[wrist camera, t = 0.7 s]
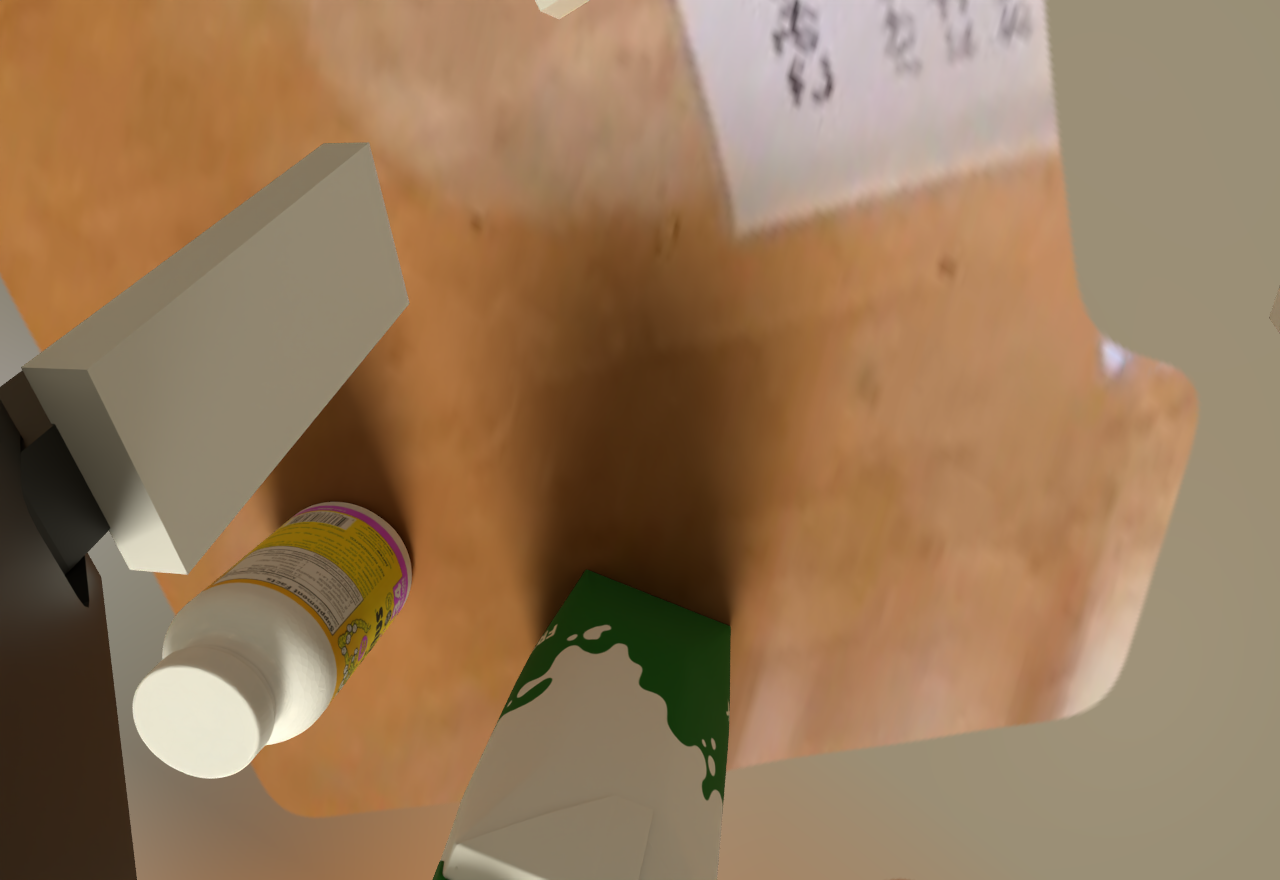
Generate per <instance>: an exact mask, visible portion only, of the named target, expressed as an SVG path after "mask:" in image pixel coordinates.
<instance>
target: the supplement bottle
mask: <svg viewBox="0 0 1280 880" xmlns="http://www.w3.org/2000/svg"><path fill="white" fill-rule="evenodd" d="M411 582H412V569H411V562H410V558H409V555H408V552H407V549H406V547H405V545H404V543H403V541H402V540H401V538H400V536H399V535H398V534H397V532H396V531H395V530H394V529H393V528H392V527H391V526H390V525H389V524H388V523H387V522H386V521H384V520H383V519H382V518H381V517H379V516H378V515H376V514H375V513H373V512H371V511H369V510H367V509H365V508H363V507H361V506H358V505H354V504H351V503H345V502H325V503H319V504H315V505H312V506H310V507H307V508H305V509H303V510H301V511H300V512H298V513H297V514H296V515H294V516H293V517H292V518H290V519H289V520H288V521H287V522H285V523H284V524H283V525H282V526H281V527H280V528H278V529H277V530H276V531H275V532H273V533H272V534H271V535H270V536H269V537H268V538H266V539H265V540H264V541H263V542H262V543H260V544H259V545H258V546H257V547H256V548H254V549H253V550H252V551H251V552H249V553H248V554H247V555H246V556H245V557H243V558H242V559H241V560H240V561H238V562H237V563H236V564H235V565H234V566H232V567H231V568H230V569H229V570H228V571H226V572H225V573H224V574H223V575H222V576H220V577H219V578H218V579H217V580H216V581H214V582H213V583H212V584H211V585H210V586H208V587H207V588H206V589H205V590H203V591H202V592H201V593H200V594H198V595H197V596H196V597H195V598H193V599H192V600H191V601H190V602H189V603H187V604H186V605H185V606H184V607H183V608H182V609H181V610H180V611H179V612H178V614H177V615H176V616H175V618H174V619H173V621H172V622H171V624H170V626H169V628H168V631H167V633H166V636H165V640H164V644H163V651H162V661H161V662H160V663H159V664H158V665H157V666H156V667H154V668H153V669H152V670H151V671H150V672H149V673H148V674H147V675H146V676H145V677H144V679H143V680H142V681H141V682H140V684H139V685H138V687H137V689H136V692H135V694H134V699H133V716H134V721H135V724H136V727H137V731H138V733H139V734H140V736H141V738H142V740H143V741H144V742H145V744H146V745H147V747H148V748H149V749H150V750H151V751H152V752H153V753H154V754H155V755H156V756H157V757H158V758H160V759H161V760H162V761H163V762H165V763H166V764H168V765H169V766H171V767H173V768H175V769H177V770H179V771H181V772H183V773H185V774H188V775H192V776H196V777H201V778H221V777H226V776H230V775H232V774H235V773H237V772H239V771H240V770H242V769H243V768H245V767H246V766H247V765H248V764H249V763H250V762H251V761H252V760H253V759H254V757H255V756H256V755H257V754H258V753H259V751H260V750H261V749H262V748H263V747H264V746H265V745H270V744H275V743H279V742H283V741H286V740H288V739H291V738H293V737H295V736H297V735H299V734H300V733H302V732H304V731H305V730H306V729H308V728H309V727H310V726H311V725H312V724H313V723H314V722H315V721H316V720H317V719H318V718H319V717H320V716H321V714H322V713H323V712H324V711H325V709H326V708H327V707H328V705H329V704H330V703H331V701H332V700H333V699H334V697H335V696H336V695H337V693H338V692H339V691H340V689H341V688H342V687H343V685H344V684H345V683H346V682H347V680H348V679H349V678H350V676H351V675H352V674H353V672H354V671H355V670H356V668H357V667H358V666H359V665H360V663H361V662H362V661H363V659H364V658H365V657H366V656H367V654H368V653H369V652H370V650H371V649H372V648H373V646H374V645H375V644H376V643H377V641H378V640H379V638H380V637H381V636H382V635H383V633H384V632H385V631H386V629H387V628H388V627H389V625H390V624H391V623H392V621H393V620H394V619H395V617H396V616H397V615H398V613H399V611H400V610H401V609H402V607H403V605H404V604H405V602H406V600H407V597H408V595H409V592H410V588H411Z"/></svg>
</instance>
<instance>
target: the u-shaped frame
mask: <svg viewBox="0 0 1280 880" xmlns="http://www.w3.org/2000/svg"><path fill="white" fill-rule="evenodd" d="M535 1H536V3H537V5H538V7H539V9H540V11H541V12H543V13H546V14H548V15H550V16H553V17H555V18H557V19H561V18H562V17H564V16H566V15H567V14H569V13H571V12H572V11H574V10H575V9H577V8H579V7H580V6H582V5H583V4H585V3H587V2H588V1H590V0H535Z"/></svg>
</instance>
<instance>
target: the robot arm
mask: <svg viewBox="0 0 1280 880" xmlns="http://www.w3.org/2000/svg"><path fill="white" fill-rule="evenodd" d="M408 305H409V300H408V296H407V292H406V288H405V284H404V280H403V276H402V272H401V268H400V264H399V260H398V256H397V252H396V248H395V244H394V240H393V236H392V232H391V228H390V224H389V220H388V216H387V212H386V208H385V204H384V200H383V196H382V192H381V188H380V184H379V180H378V176H377V172H376V168H375V164H374V160H373V156H372V152H371V148H370V144H369V143H324V144H322V145H321V146H320V147H318V148H317V149H316V150H314V151H313V152H311V153H310V154H309V155H307V156H306V157H305V158H303V159H302V160H301V161H299V162H298V163H297V164H295V165H294V166H293V167H291V168H290V169H288V170H287V171H286V172H284V173H283V174H282V175H280V176H279V177H278V178H276V179H275V180H274V181H272V182H271V183H270V184H268V185H267V186H266V187H264V188H263V189H261V190H260V191H259V192H257V193H256V194H255V195H253V196H252V197H251V198H249V199H248V200H247V201H245V202H244V203H243V204H241V205H240V206H239V207H237V208H236V209H234V210H233V211H232V212H230V213H229V214H228V215H226V216H225V217H224V218H222V219H221V220H220V221H218V222H217V223H216V224H214V225H213V226H211V227H210V228H209V229H207V230H206V231H205V232H203V233H202V234H201V235H199V236H198V237H197V238H195V239H194V240H193V241H191V242H190V243H189V244H187V245H186V246H184V247H183V248H182V249H180V250H179V251H178V252H176V253H175V254H174V255H172V256H171V257H170V258H168V259H167V260H166V261H164V262H163V263H161V264H160V265H159V266H157V267H156V268H155V269H153V270H152V271H151V272H149V273H148V274H147V275H145V276H144V277H143V278H141V279H140V280H139V281H137V282H136V283H134V284H133V285H132V286H130V287H129V288H128V289H126V290H125V291H124V292H122V293H121V294H120V295H118V296H117V297H116V298H114V299H113V300H112V301H110V302H109V303H107V304H106V305H105V306H103V307H102V308H101V309H99V310H98V311H97V312H95V313H94V314H93V315H91V316H90V317H89V318H87V319H86V320H84V321H83V322H82V323H80V324H79V325H78V326H76V327H75V328H74V329H72V330H71V331H70V332H68V333H67V334H66V335H64V336H63V337H62V338H60V339H59V340H57V341H56V342H55V343H53V344H52V345H51V346H49V347H48V348H47V349H45V350H44V351H43V352H41V353H40V354H39V355H37V356H36V357H35V358H33V359H32V360H31V361H29V362H28V363H26V364H25V365H24V366H22V367H21V368H22V371H21V372H20V373H18V374H17V375H16V376H14V377H13V378H12V379H10V380H9V381H8V382H6V383H5V384H4V385H2V386H1V387H0V880H137V877H136V868H135V860H134V851H133V842H132V835H131V825H130V817H129V809H128V800H127V792H126V783H125V775H124V767H123V758H122V750H121V741H120V733H119V724H118V715H117V707H116V698H115V690H114V681H113V673H112V665H111V656H110V649H109V639H108V631H107V623H106V615H105V605H104V597H103V588H102V580H101V576H100V574H99V572H98V571H97V569H96V567H95V565H94V564H93V562H92V560H91V558H90V557H89V555H88V553H87V552H88V551H89V550H90V549H91V548H92V547H93V546H94V545H95V544H96V543H97V542H98V541H99V540H100V539H101V538H102V537H103V536H104V535H105V534H106V533H107V531H108V530H109V532H110V534H111V535H112V537H113V539H114V541H115V543H116V545H117V547H118V548H119V550H120V552H121V554H122V556H123V558H124V559H125V561H126V563H127V565H128V567H129V569H130V570H140V571H152V572H164V573H176V574H189V572H190V571H191V570H192V569H193V567H194V566H195V565H196V564H197V563H198V561H199V560H200V559H201V558H202V556H203V555H204V554H205V553H206V552H207V550H208V549H209V548H210V547H211V545H212V544H213V543H214V542H215V541H216V539H217V538H218V537H219V536H220V534H221V533H222V532H223V531H224V530H225V528H226V527H227V526H228V525H229V523H230V522H231V521H232V520H233V519H234V517H235V516H236V515H237V514H238V512H239V511H240V510H241V509H242V508H243V506H244V505H245V504H246V503H247V501H248V500H249V499H250V498H251V496H252V495H253V494H254V493H255V492H256V490H257V489H258V488H259V487H260V485H261V484H262V483H263V482H264V481H265V479H266V478H267V477H268V476H269V474H270V473H271V472H272V471H273V470H274V468H275V467H276V466H277V465H278V463H279V462H280V461H281V460H282V459H283V457H284V456H285V455H286V454H287V452H288V451H289V450H290V449H291V448H292V446H293V445H294V444H295V443H296V441H297V440H298V439H299V438H300V437H301V435H302V434H303V433H304V432H305V430H306V429H307V428H308V427H309V426H310V424H311V423H312V422H313V421H314V419H315V418H316V417H317V416H318V415H319V413H320V412H321V411H322V410H323V408H324V407H325V406H326V405H327V404H328V402H329V401H330V400H331V399H332V397H333V396H334V395H335V394H336V393H337V391H338V390H339V389H340V388H341V386H342V385H343V384H344V383H345V382H346V380H347V379H348V378H349V377H350V375H351V374H352V373H353V372H354V371H355V369H356V368H357V367H358V366H359V364H360V363H361V362H362V361H363V360H364V358H365V357H366V356H367V355H368V353H369V352H370V351H371V350H372V349H373V347H374V346H375V345H376V344H377V342H378V341H379V340H380V339H381V338H382V336H383V335H384V334H385V333H386V331H387V330H388V329H389V328H390V327H391V325H392V324H393V323H394V322H395V320H396V319H397V318H398V317H399V316H400V314H401V313H402V312H403V311H404V309H405V308H406V307H407V306H408ZM1269 318H1270V320H1271V321H1272V323H1273V324H1274V326H1275V327H1276V329H1277V330H1278V331H1279V333H1280V287H1279V290H1278V293H1277V296H1276V299H1275V302H1274V305H1273V308H1272V311H1271V314H1270V317H1269Z"/></svg>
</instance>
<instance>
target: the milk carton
mask: <svg viewBox="0 0 1280 880" xmlns="http://www.w3.org/2000/svg"><path fill="white" fill-rule="evenodd" d="M730 635H731V627H730V626H728V625H726V624H723V623H721V622H718V621H716V620H713V619H710V618H708V617H705V616H703V615H700V614H698V613H695V612H693V611H690V610H688V609H685V608H683V607H680V606H678V605H675V604H673V603H670V602H668V601H665V600H663V599H660V598H658V597H655V596H653V595H650V594H647V593H645V592H642V591H640V590H637V589H635V588H632V587H630V586H627V585H625V584H622V583H620V582H617V581H615V580H612V579H610V578H607V577H605V576H602V575H600V574H597V573H595V572H592V571H590V570H587V569H586V570H585V572H584V573H583V575H582V576H581V578H580V580H579V581H578V583H577V584H576V586H575V587H574V589H573V590H572V592H571V593H570V595H569V596H568V598H567V599H566V601H565V602H564V604H563V605H562V607H561V608H560V610H559V611H558V613H557V614H556V616H555V617H554V619H553V620H552V622H551V623H550V625H549V626H548V628H547V629H546V631H545V632H544V634H543V636H542V637H541V639H540V640H539V642H538V643H537V645H536V646H535V648H534V650H533V651H532V653H531V655H530V657H529V659H528V661H527V663H526V664H525V666H524V668H523V670H522V672H521V674H520V676H519V678H518V680H517V682H516V684H515V686H514V688H513V690H512V692H511V694H510V696H509V698H508V700H507V703H506V705H505V707H504V709H503V711H502V713H501V715H500V718H499V720H498V722H497V724H496V726H495V728H494V730H493V733H492V735H491V737H490V739H489V741H488V743H487V745H486V748H485V750H484V752H483V754H482V756H481V758H480V761H479V763H478V765H477V767H476V769H475V771H474V773H473V776H472V778H471V780H470V782H469V784H468V786H467V789H466V791H465V793H464V795H463V798H462V800H461V803H460V806H459V809H458V812H457V815H456V818H455V821H454V824H453V827H452V830H451V833H450V835H449V838H448V841H447V844H446V847H445V850H444V852H443V855H442V858H441V860H440V862H439V865H438V867H437V870H436V872H435V875H434V877H433V880H717V873H718V872H717V871H718V861H719V849H720V837H721V825H722V812H723V800H724V787H725V776H726V763H727V751H728V738H729V714H730Z"/></svg>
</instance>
